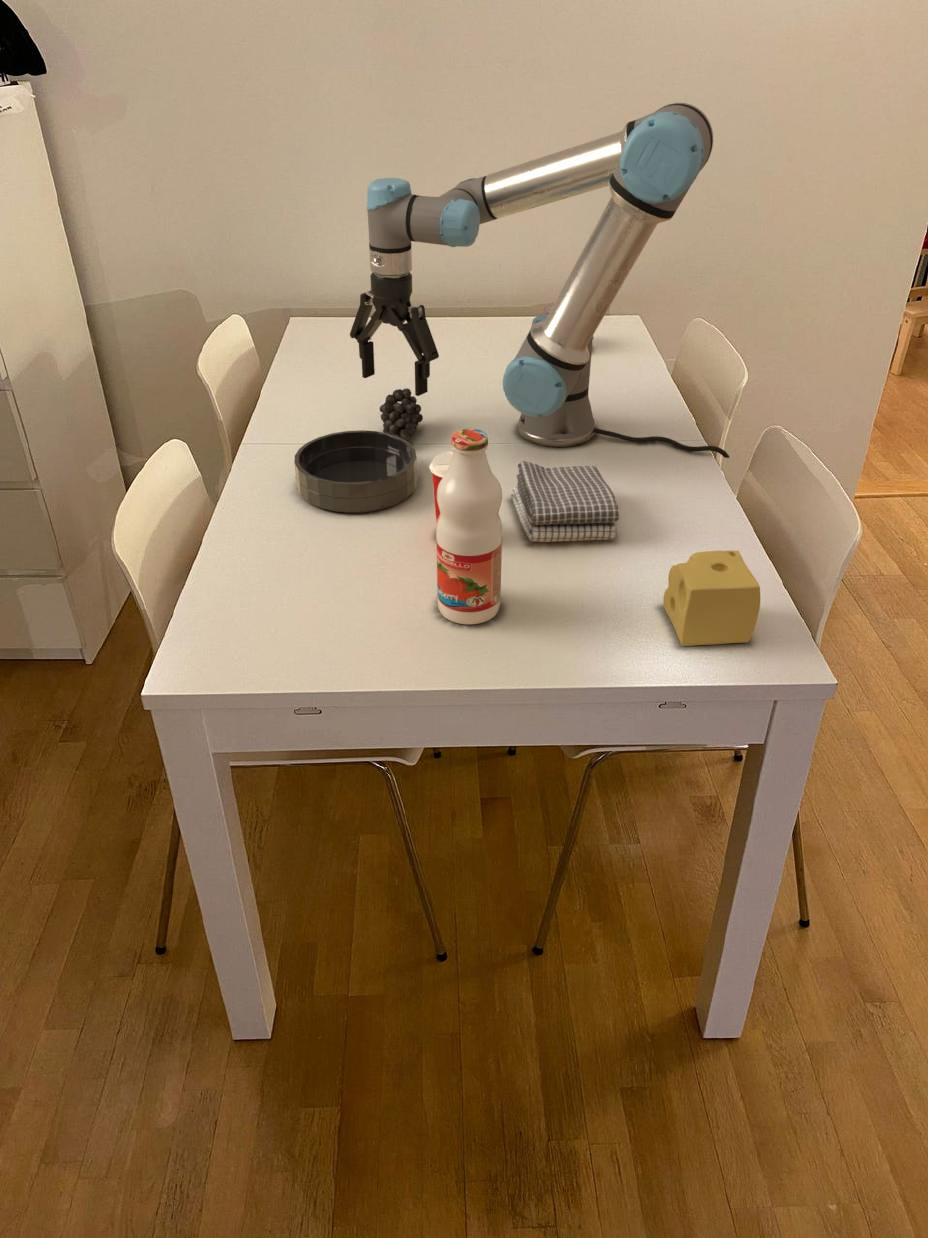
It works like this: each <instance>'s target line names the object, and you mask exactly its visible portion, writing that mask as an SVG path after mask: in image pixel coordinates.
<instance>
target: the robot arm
mask: <svg viewBox="0 0 928 1238" xmlns="http://www.w3.org/2000/svg"><path fill="white" fill-rule="evenodd" d="M713 147H714V131H713V128H712V125H711V122H710V120H709V118H708V117H707V115H706V114H705V113H704V112H703V111H702V110H701V109H700V108H698V107H697V106H694V105H693V104H690V103H687V102H674V103H668V104H666V105H664V106H662V107H660V108H659V109H657V110H655V111H652V112H651V113H649V114H646V115H644V116H642V117H640V118H637V119H634V120H631V121H628V122H626V123H625V125H624V126H623V129H622V130H621V131H619V132H616V133H612V134H609V135H605V136H603V137H600V138H597V139H594V140H590V141H588V142H585V143H581V144H578V145H576V146H572V147H568V148H565V149H564V150H560V151H557V152H554V153H551V154H548V155H547V154H546V155H544V156H542V157H538V158H535V159H533V160H528V161H526V162H522V163H520V164H517V165H513V166H511V167H506V168H505V169H501V170H498V171H495V172H492V173H489V174H487V175H484V176H480V177H473V178H472V177H471V178H467V179H465V180H462V181H460V182H459V183H457V185H455V186H454V187H453V188H451V189H450V190H447V191H445V192H444V193H443V194H441V195H439V196H427V195H419V194H414V193H412V190H411V189H412V188H411V183H410V182H409V181H408V180H406V179H401V178H398V177H383V178H377V179H374V180H372V181H371V182H370V183H369V184H368V185H367V196H366V197H367V199H366V200H367V201H366V204H367V206H366V211H367V224H368V225H367V226H368V227H367V228H368V244H369V245H368V247H369V248H368V249H369V269H370V271H371V272H372V273H370V278H369V279H370V290H369V291H366V292H363V293H360V295H359V307H358V309H357V312H356V315H355V317H354V320H353V323H352V326H351V329H350V332H349V337H350V338H351V339H355V340H356V342H357V344H358V355H359V359H360V360H361V375H362V378H363V379H368V378H369V377H372V376H375V374H376V371H375V370H376V369H375V350H374V348H375V347H374V346H375V345H374V341H372V339H373V338H372V337H373V336H374V335H375V334H376V332H377V330H378V329H379V328H380V326H381V325H382V324H385V325H387V324H389V325H390V326H392V327H397V330H398V331H400V332H401V333H402V334H403V337H404V338H405V340H406V341H407V343H408V345H409V347H410V348H411V350H412V352H413V355H414V356H415V357H416V361H414V391H415V392H414V395H415V397H419V396H423V395H424V394H426V393H428V391H429V389H428V387H429V386H428V378H430V377H431V362H432V361H435V360H437V359H439V358H440V354H439V351H438V349H437V346H436V343H435V339H434V338H433V337H434V336H433V334H432V332H431V328H430V326H429V323H428V320H427V318H426V309H425V306H424V304H419V305H412V303H411V296H412V294H413V274H412V273H411V272H412V271H413V257H412V256H413V255H412V254H413V253H412V242H415V243H424V244H432V245H440V246H447V247H451V248H456V247H461V248H462V247H463V248H466V247H471V246H472V245H474V243H475V242H476V239H477V237H478V235H479V231H480V225H482V224H486V223H489V222H493V221H495V220H498V219H501V218H504V217H508V216H511V215H515V214H517V213H521V212H524V211H528V210H532V209H535V208H538V207H541V206H542V207H543V206H545V205H548V204H551V203H555V202H559V201H562V200H565V199H568V198H571V197H572V198H573V197H576V196H578V195H582V194H585V193H589V192H592V191H597V190H599V189H603V188H606V187H608V188H609V191H610V199H609V200H608V202H607V204H606V205H605V208H604V209H603V212H602V213H601V214H600V216H599V218H598V221H597V222H596V225H595V226H594V228H593V230H592V232H591V234H590V236H589V237H588V239H587V241H586V243H585V245H584V247H583V249H582V251H581V252H580V253H579V256H578V258H577V260H576V262H575V263H574V265H573V268H572V269H571V271H570V273H569V275H568V276H567V279H566V280H565V282H564V284H563V286H562V288H561V290H560V291H559V293H558V295H557V297H556V299H555V300H554V302H553V304H552V305H551V308H550V310H549V311H548V312H549V314H545V313H543V315H542V314H538V315H536V316H535V317H534V318H533V319H532V321H531V327H530V329H529V331H528V333H527V335H526V337H525V338H524V340H523V342H522V345H521V346H520V348H519V350H518V352H517V353H516V355H515V357H514V358H513V359H512V360H511V361H510V362H509V363H508V365H507V366H506V368H505V371H504V373H503V377H502V390H503V392H504V395H505V398H506V399H507V401H508V403H509V404H510V406H512V407H513V408H514V409H515V410H516V411H517V412H519V413H520V416H519V419H518V434H519V435H520V436H521V437H522V438H523V439H525V440H527V441H528V442H530V443H533V444H536V445H540V446H545V447H555V448H565V447H575V446H578V445H581V444H585V443H587V442H589V441H590V440H592V439H593V438H594V435H595V434H598V435H601V436H602V435H603V436H606V437H611V438H615V439H619V440H621V441H625V442H631V443H649V442H650V443H651V442H660V443H665V444H669V445H671V446H673V447H675V448H677V449H680V450H682V451H685V452H692V453H693V452H695V453H696V452H715V453H718V454H720V455H721V456H722V457H723V458H725V459H729V458H730V455H729V453H727V452H726V450H724V449H723V448H721V447H719V446H716V445H701V446H700V445H699V446H691V445H685V444H683V443H680V442H679V441H676V440H674V439H672V438H669V437H665V436H657V435H655V436H653V435H652V436H643V437H642V436H641V437H637V436H636V437H635V436H631V435H625V434H621V433H618V432H614V431H610V430H605V429H601V428H596V421H595V418H594V413H593V410H592V406H591V405H592V404H591V401H590V398H589V397H590V396H589V389H590V376H591V364H592V353H593V352H592V351H593V340H594V338H595V336H594V334H595V333H596V331H597V329H598V328H599V326H600V324H601V323H602V321H603V319H604V317H605V315H606V314H607V312H608V310H609V309H610V308H611V305H612V304H613V302H614V300H615V299H616V297H617V295H618V293H619V291H620V289H621V288H622V287H623V284H624V283H625V281H626V279H627V277H628V276H629V274H630V272H631V271H632V269H633V267H634V266H635V264H636V262H637V260H638V258H639V257H640V255H641V253H642V251H643V250H644V248H645V247H646V245H647V243H648V241H649V240H650V238H651V236H652V234H653V233H654V231H655V229H656V228H657V226H658V224H662V223H664V222H667V221H670V220H672V219H673V218H674V215H675V214H676V212H677V210H678V209H679V207H680V206H681V203H682V202H683V201H684V198H685V197H686V195H687V194H688V192H689V190H690V188H691V186H693V184H694V182H695V181H696V179H697V178H698V176H699V174H700V172H701V171H702V170H703V169H704V168H705V166H706V164H707V163H708V162H709V159H710V157H711V155H712V152H713ZM373 308H374V309H375V311H373V314H372V315H371V313H372V310H373ZM370 315H371V316H370ZM369 318H370V320H369Z"/></svg>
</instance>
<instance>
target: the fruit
mask: <svg viewBox="0 0 928 1238" xmlns="http://www.w3.org/2000/svg"><path fill="white" fill-rule="evenodd" d="M417 401H418V400H417V398H416V396H413V395H412V390H411V389H409V388H407V387H406V388H403V389H400V388H399V389H394V390H393V391H392V394H388V395H387V396H386V397H385V401H384V403H383V404H381V405H380V406H379V412H380V413H381V414H380V419H381V421H382V423H383V424H382V426H383V430H382V432H383V433H388V434H392V435H395V436H398V437H400V438H403V439H404V440H406V441H407V442H408V441H409V440H410V435H413V434H414V432H415V431H416V430H417V429H418V426H419V423H421V422H422V421H423V420H424V416H423V414H422V413H421V411H422V405H420V404H418V403H417Z"/></svg>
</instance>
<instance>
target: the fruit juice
mask: <svg viewBox="0 0 928 1238" xmlns="http://www.w3.org/2000/svg"><path fill="white" fill-rule="evenodd" d="M450 444H451V449H452V450H453V451H454V453H453V456H452V459H451V462H450V465H449V468H448V470H447V472H446V474H445V475H444V477H443V478H442V480H441V481H440V483H439V485H438V488H437V503H438V506H439V509H440V516H439V518H438V521H437V523H436V530H435V531H436V532H435V540H436V541H435V542H436V543H435V544H436V593H437V594H436V595H437V597H436V599H437V600H436V601H437V607H438V610H439V613H440V614H441V615H442V616H443V617H444V618H445V619H447V620H449V621H451V622H453V623H456V624H461V625H478V624H483V623H486V622H488V621H490V620H491V619H493V618H494V617H496V616H497V614H498V612H499V610H500V607H501V593H502V592H501V591H502V559H503V556H502V553H503V524H502V523H503V522H502V519H501V516H500V514H499V512H500V508H501V506H502V502H503V488H502V486H501V483H500V482H499V479H498V478H497V477H496V476H495V475H494V473H493V472H492V469H491V466H490V464H489V460H488V457H487V452H486V450H487V449H488V447H489V437H488V434H487V432H485V431H483V430H480V429H476V428H463V429H459V430H456V431H454V432H453V433H452V435H451V441H450Z"/></svg>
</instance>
